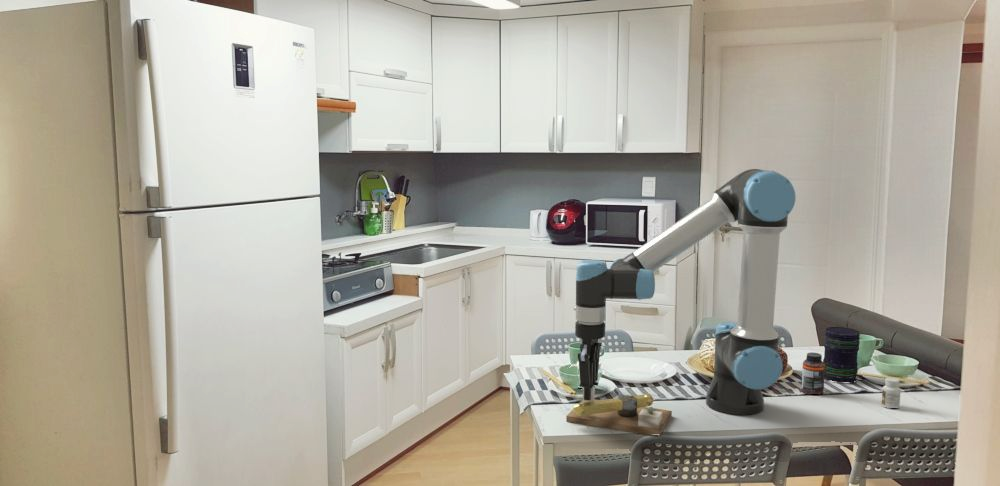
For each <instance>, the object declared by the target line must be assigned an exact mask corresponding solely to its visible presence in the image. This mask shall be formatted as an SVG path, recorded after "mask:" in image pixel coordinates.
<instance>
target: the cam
mask: <svg viewBox="0 0 1000 486" xmlns="http://www.w3.org/2000/svg"><path fill="white" fill-rule="evenodd" d="M653 402H654V398H653V396H652V395H651V394H648V393H645V394H637V395H627V394H625V395H619V396H618V397H616V398H608V399H601V400H600V401H593V402H586V403H580V402H578V403H576V404H575V405H574V406H573V408H572V410H573V411H574V413H575V414H576V415H577V416H585V415H592V414H599V413H605V412H612V411H618V412H617V413H618V414H619V415H621V416H624V417H633V416H636V415H637V408H640V407H651V406H652V405H653Z"/></svg>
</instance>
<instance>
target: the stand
mask: <svg viewBox="0 0 1000 486" xmlns="http://www.w3.org/2000/svg"><path fill="white" fill-rule="evenodd" d="M595 401H600V400H599V399H595ZM579 403H583V399H582V400H580V402H579ZM617 412H618V411H612V412H605V413H599V414H592V415H585V416H577V415H576V414H575V413H574V411H573V409H571V411H570V412H568V413H567V414H566V416H565V417H566V418H565V419H566V422H567V423H575V424H580V425H585V426H586V425H587V426H591V427H592V426H593V427H598V428H604V429H605V428H606V429H611V430H617V431H624V432H629V433H635V434H641V435H648V436H652V435H651V434H660V435H661V434H662V432H664V429H665V428H666V426H667V425H668V423H669V421H670V420H671V418H672V416H673V415H672V413H673V410H667V409H662V408H656V407H655V408H654V407H652V406H647V407H640V408H637V415H636V416H633V417H624V416H621V415H619V414H618V413H617Z"/></svg>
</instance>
